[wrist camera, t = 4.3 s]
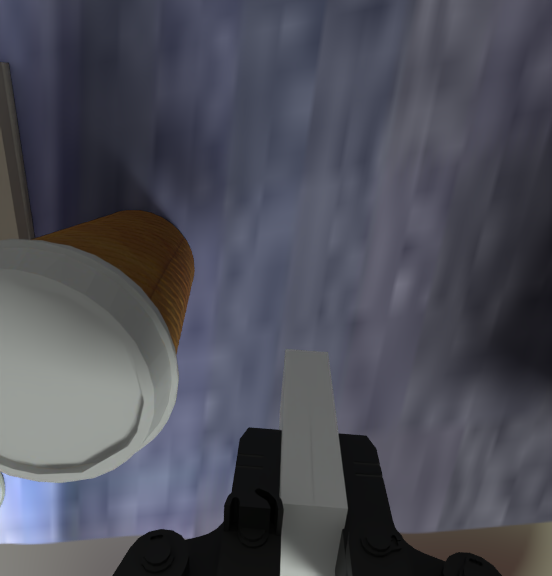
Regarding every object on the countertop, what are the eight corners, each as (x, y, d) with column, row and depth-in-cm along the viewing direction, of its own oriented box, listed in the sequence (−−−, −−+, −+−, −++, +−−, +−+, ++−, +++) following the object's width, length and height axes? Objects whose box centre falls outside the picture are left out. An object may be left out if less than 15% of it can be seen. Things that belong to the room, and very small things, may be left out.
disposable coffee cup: (82, 340, 29) (-53, 496, 18) (37, 187, 25) (-170, 264, 14) (232, 331, 28) (190, 488, 17) (210, 172, 24) (136, 241, 13)
